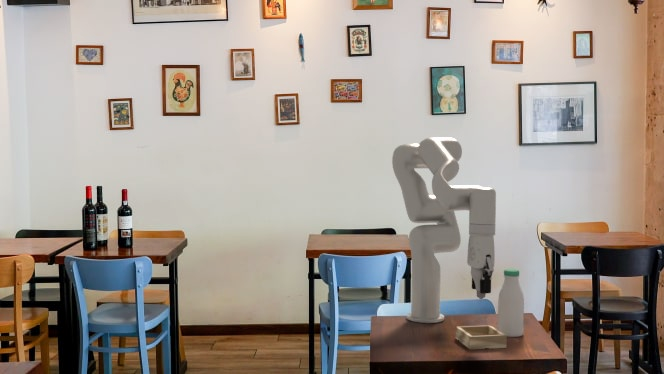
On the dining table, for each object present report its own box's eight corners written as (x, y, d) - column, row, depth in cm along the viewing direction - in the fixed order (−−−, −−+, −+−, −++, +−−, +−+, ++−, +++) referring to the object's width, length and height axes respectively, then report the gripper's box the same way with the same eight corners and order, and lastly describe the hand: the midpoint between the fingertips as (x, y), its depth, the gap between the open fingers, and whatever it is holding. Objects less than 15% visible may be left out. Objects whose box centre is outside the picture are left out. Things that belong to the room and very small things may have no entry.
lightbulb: (495, 298, 211) (495, 261, 211) (484, 301, 207) (485, 263, 206) (477, 296, 215) (477, 259, 215) (466, 299, 211) (466, 261, 210)
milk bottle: (524, 338, 217) (525, 272, 216) (497, 336, 219) (499, 271, 218) (522, 331, 225) (523, 268, 224) (497, 330, 227) (498, 267, 225)
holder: (455, 338, 217) (455, 326, 217) (490, 336, 219) (490, 325, 218) (470, 349, 205) (470, 336, 205) (506, 347, 207) (506, 335, 207)
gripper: (459, 226, 218) (458, 285, 219) (481, 233, 201) (480, 297, 202) (483, 226, 219) (482, 285, 220) (506, 232, 202) (505, 296, 203)
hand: (481, 290), depth 211 cm, fingers closed on lightbulb, 5 cm apart
